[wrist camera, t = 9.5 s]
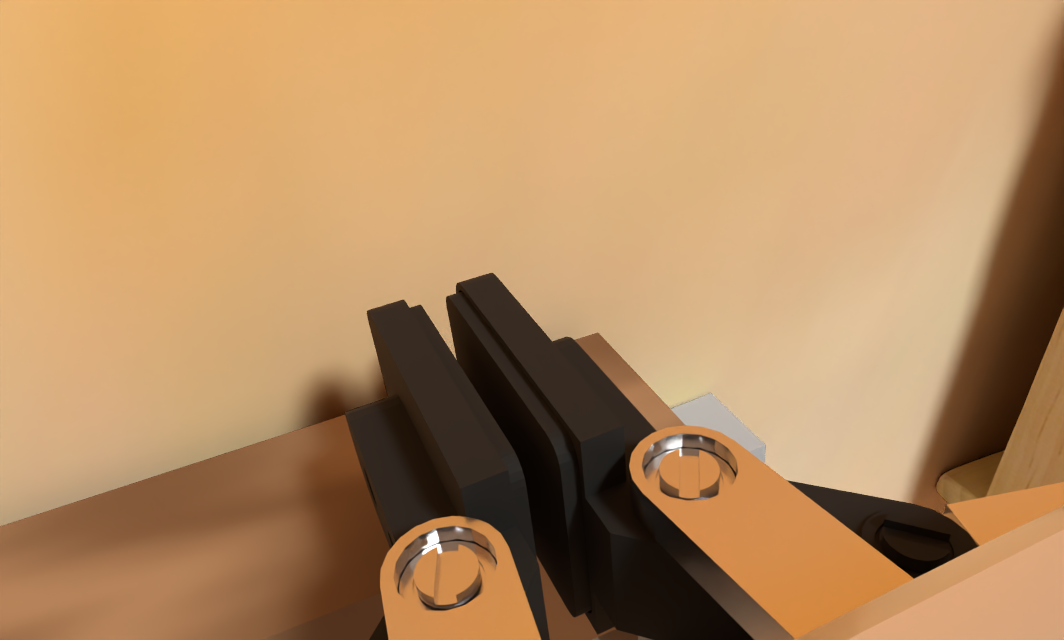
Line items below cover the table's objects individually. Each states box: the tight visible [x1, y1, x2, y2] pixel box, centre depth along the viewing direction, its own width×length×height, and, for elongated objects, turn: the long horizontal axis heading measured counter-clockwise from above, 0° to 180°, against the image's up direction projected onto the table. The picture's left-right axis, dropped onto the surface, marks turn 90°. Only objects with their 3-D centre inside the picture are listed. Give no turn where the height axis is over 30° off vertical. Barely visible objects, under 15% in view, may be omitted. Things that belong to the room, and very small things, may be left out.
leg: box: [0, 333, 685, 640], centre depth 12 cm, size 16×4×4 cm, turn 97°
